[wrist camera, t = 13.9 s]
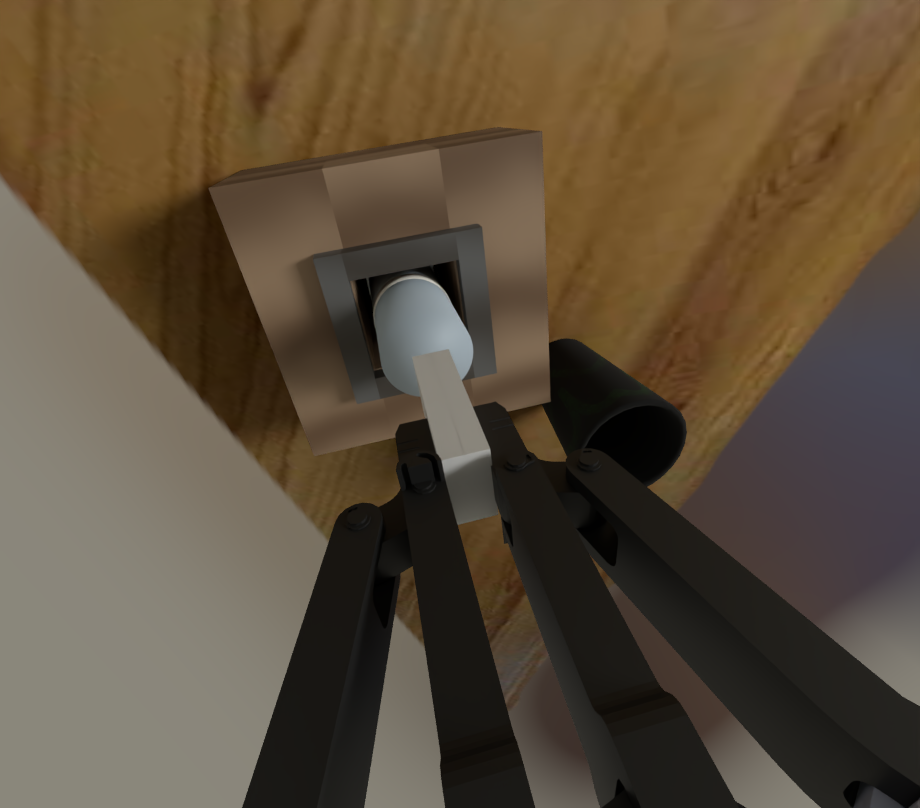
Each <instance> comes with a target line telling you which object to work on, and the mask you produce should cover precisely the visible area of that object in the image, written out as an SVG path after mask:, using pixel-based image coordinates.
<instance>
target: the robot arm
mask: <svg viewBox="0 0 920 808" xmlns="http://www.w3.org/2000/svg"><path fill="white" fill-rule="evenodd" d="M412 360H413V364H414V369H415V374H416V378H417V383H418V388H419V392H420V397H421V402H422V406H423V411H424V415H425V419H421V420H416V421H412V422H408V423H403V424H399V427H398V429H397V431H396V433H395V437H396V444H397V451H398V457H399V462H398V464H397V467H396V472H397V476H398V479H399V483H400V487H401V489H400V491H399V493H398V494H397V495H396V496H395V497H394V498H393V499H392V500H391V501H389V502H387V503H386V504H384V505H382V506H380V507H377V506H375V505H373V504H371V503H360V504H355V505H353V506H351V507H349V508H347V509H345V510H344V511H343V512H342V513H341V514H340V515H339V516H338V518H337V520H336V522H335V524H334V528H333V531H332V534H331V537H330V540H329V543H328V546H327V549H326V552H325V555H324V558H323V561H322V564H321V567H320V571H319V574H318V577H317V580H316V583H315V586H314V589H313V592H312V595H311V598H310V601H309V604H308V608H307V610H306V614H305V617H304V620H303V623H302V626H301V629H300V632H299V635H298V638H297V641H296V644H295V647H294V651H293V653H292V656H291V660H290V663H289V666H288V669H287V673H286V675H285V678H284V681H283V684H282V687H281V690H280V693H279V696H278V700H277V702H276V706H275V709H274V712H273V715H272V718H271V721H270V724H269V727H268V730H267V733H266V736H265V739H264V743H263V746H262V749H261V752H260V755H259V758H258V761H257V764H256V767H255V770H254V773H253V776H252V779H251V782H250V785H249V788H248V792H247V795H246V798H245V801H244V804H243V807H242V808H364V805H365V799H366V792H367V786H368V780H369V773H370V767H371V761H372V754H373V748H374V742H375V735H376V729H377V722H378V715H379V710H380V703H381V697H382V691H383V685H384V678H385V671H386V665H387V659H388V652H389V646H390V640H391V633H392V627H393V621H394V615H395V608H396V602H397V596H398V589H399V583H400V573H401V572H403V571H405V570H407V569H408V568H410V567H412V566H413V570H414V577H415V584H416V590H417V597H418V604H419V611H420V617H421V624H422V631H423V638H424V644H425V651H426V657H427V665H428V671H429V678H430V684H431V692H432V698H433V705H434V711H435V718H436V725H437V732H438V739H439V745H440V754H441V762H440V769H441V780H442V787H443V794H444V802H445V808H535V805H534V801H533V798H532V794H531V790H530V787H529V783H528V779H527V776H526V772H525V768H524V764H523V761H522V758H521V754H520V751H519V748H518V745H517V741H516V739H515V736H514V733H513V730H512V726H511V722H510V719H509V715H508V711H507V707H506V704H505V700H504V696H503V693H502V689H501V685H500V681H499V678H498V674H497V670H496V666H495V663H494V659H493V655H492V652H491V648H490V644H489V640H488V637H487V633H486V629H485V626H484V622H483V618H482V614H481V611H480V607H479V603H478V599H477V596H476V592H475V588H474V585H473V581H472V577H471V573H470V570H469V566H468V562H467V559H466V555H465V551H464V547H463V544H462V540H461V536H460V532H459V529H458V524H462V523H466V522H470V521H474V520H478V519H482V518H486V517H490V516H494V515H498V509H499V512H500V514H501V520H502V528H503V537H504V544H505V543H508V544H509V547H510V550H511V552H512V555H513V558H514V561H515V563H516V566H517V569H518V572H519V574H520V577H521V580H522V583H523V585H524V588H525V591H526V593H527V596H528V599H529V602H530V604H531V607H532V610H533V613H534V615H535V618H536V621H537V624H538V626H539V629H540V632H541V635H542V637H543V640H544V643H545V646H546V648H547V651H548V654H549V656H550V659H551V662H552V665H553V667H554V670H555V673H556V676H557V678H558V681H559V684H560V687H561V689H562V692H563V695H564V697H565V700H566V703H567V706H568V708H569V711H570V714H571V717H572V719H573V722H574V725H575V728H576V730H577V733H578V736H579V739H580V741H581V744H582V747H583V750H584V752H585V755H586V758H587V761H588V764H589V767H590V770H591V775H592V779H593V784H594V788H595V791H596V795H597V799H598V802H599V805H600V808H745V807H744V806H742V805H741V804H739V803H737V802H736V801H735V800H734V798H733V796H732V794H731V792H730V791H729V789H728V787H727V785H726V784H725V782H724V780H723V778H722V776H721V775H720V773H719V771H718V769H717V767H716V765H715V764H714V762H713V760H712V758H711V756H710V755H709V753H708V751H707V749H706V747H705V746H704V744H703V742H702V740H701V738H700V737H699V735H698V733H697V731H696V730H695V728H694V726H693V724H692V722H691V720H690V719H689V717H688V715H687V713H686V712H685V710H684V709H683V707H682V706H681V704H680V703H679V701H678V700H677V699H676V698H675V697H674V696H673V695H672V694H670V693H668V692H665V691H664V690H663V689H662V688H661V687H660V685H659V684H658V682H657V680H656V678H655V676H654V674H653V673H652V671H651V669H650V667H649V665H648V663H647V661H646V660H645V658H644V656H643V654H642V652H641V650H640V648H639V646H638V645H637V643H636V641H635V639H634V637H633V635H632V634H631V632H630V630H629V628H628V626H627V624H626V622H625V620H624V618H623V617H622V615H621V613H620V611H619V609H618V608H617V605H616V604H615V602H614V600H613V598H612V596H611V594H610V592H609V591H608V589H607V587H606V585H605V583H604V581H603V579H602V577H601V576H600V574H599V572H598V570H597V568H596V566H595V564H594V563H593V561H592V559H591V557H592V558H593V559H594V560H595V561H596V562H597V563H598V564H599V566H600V567H601V568H602V569H603V570H604V571H605V572H606V573H607V575H608V576H609V577H610V578H611V579H612V580H613V581H614V582H615V583H616V585H617V586H618V587H619V588H620V589H621V590H622V591H623V592H624V594H625V595H626V596H627V597H628V598H629V599H630V600H631V601H632V602H633V603H634V605H635V606H636V607H637V608H638V609H639V610H640V611H641V613H642V614H643V615H644V616H645V617H646V618H647V619H648V620H649V621H650V622H651V624H652V625H653V626H654V627H655V628H656V629H657V630H658V631H659V633H660V634H661V635H662V636H663V637H664V638H665V639H666V640H667V642H668V643H669V644H670V645H671V646H672V647H673V648H674V649H675V650H676V652H677V653H678V654H679V655H680V656H681V657H682V658H683V659H684V661H685V662H687V664H688V665H689V666H690V667H691V668H692V669H693V671H695V673H696V674H697V675H698V676H699V677H700V678H701V680H702V681H703V682H704V683H705V684H706V685H707V686H708V687H709V688H710V690H711V691H712V692H713V693H714V694H715V695H716V696H717V697H718V699H720V701H721V702H722V703H723V704H724V705H725V706H726V707H727V709H728V710H729V711H730V712H731V713H732V714H733V715H734V716H735V717H736V718H737V720H738V721H739V722H740V723H741V724H742V725H743V726H744V728H745V729H746V730H747V731H748V732H749V733H750V734H751V735H752V736H753V737H754V739H755V740H756V741H757V742H758V743H759V744H760V745H761V746H762V748H763V749H764V750H765V751H766V752H767V753H768V754H769V755H770V757H771V758H772V759H773V760H774V761H775V762H776V763H777V764H778V766H779V767H780V768H781V769H782V770H783V771H784V772H785V773H786V774H787V775H788V776H789V777H790V778H791V779H792V780H793V781H794V782H795V783H796V784H797V785H798V786H799V787H800V788H801V789H802V790H803V792H805V794H807V795H808V796H809V797H810V798H811V799H812V800H813V801H814V802H815V803H816V804H818V805H819V806H820V807H821V808H920V706H918V705H916V704H915V703H913V702H911V701H909V700H907V699H906V698H904V697H902V696H901V695H900V694H899V693H897V692H896V691H895V690H894V689H893V688H891V687H890V686H889V685H887V684H886V683H885V682H884V681H883V680H882V679H880V678H879V677H878V676H877V675H875V674H874V673H873V672H872V671H871V670H869V669H868V668H867V667H866V666H864V665H863V664H862V663H861V662H860V661H858V660H857V659H856V658H855V657H853V656H852V655H851V654H850V653H849V652H847V651H846V650H845V649H844V648H843V647H841V646H840V645H839V644H838V643H836V642H835V641H834V640H833V639H832V638H830V637H829V636H828V635H826V634H825V633H824V632H823V631H822V630H821V629H819V628H818V627H817V626H816V625H814V624H813V623H812V622H811V621H810V620H808V619H807V618H806V617H805V616H803V615H802V614H801V613H800V612H798V611H797V610H796V609H795V608H794V607H792V606H791V605H790V604H789V603H788V602H786V601H785V600H784V599H783V598H782V597H780V596H779V595H778V594H777V593H775V592H774V591H773V590H772V589H771V588H769V587H768V586H767V585H766V584H764V583H763V582H762V581H761V580H759V579H758V578H757V577H756V576H755V575H753V574H752V573H751V572H749V571H748V570H747V569H746V568H745V567H744V566H742V565H741V564H740V563H739V562H738V561H736V560H735V559H734V558H733V557H731V556H730V555H729V554H728V553H727V552H725V551H724V550H723V549H722V548H720V547H719V546H718V545H717V544H715V543H714V542H713V541H712V540H711V539H709V538H708V537H707V536H706V535H705V534H703V533H702V532H701V531H700V530H698V529H697V528H696V527H695V526H694V525H692V524H691V523H690V522H689V521H688V520H686V519H685V518H684V517H683V516H681V515H680V514H679V513H678V512H677V511H675V510H674V509H673V508H672V507H670V506H669V505H668V504H667V503H666V502H664V501H663V500H662V499H661V498H659V497H658V496H657V495H656V494H655V493H653V492H652V491H651V490H650V489H648V488H647V487H646V486H645V485H644V484H642V483H641V482H640V481H639V480H638V479H636V478H635V477H634V476H633V475H631V474H630V473H629V472H628V471H627V470H625V469H624V468H623V467H622V466H620V465H619V464H618V463H617V462H616V461H614V460H613V459H612V458H611V457H609V456H608V455H607V454H605V453H604V452H602V451H600V450H596V449H592V448H582V449H579V450H575V451H573V452H572V453H570V454H569V455H568V457H567V459H566V462H550V461H543V460H540V459H538V458H537V457H536V456H535V455H534V454H533V453H531V452H529V451H528V450H527V449H526V447H525V445H524V443H523V441H522V439H521V437H520V435H519V433H518V432H517V430H516V428H515V426H514V425H513V422H512V420H511V418H510V416H509V414H508V412H507V411H506V409H505V408H504V407H503V406H501V405H500V404H498V403H497V402H491V403H487V404H483V405H478V406H474V407H473V406H472V404H471V402H470V399H469V397H468V394H467V392H466V390H465V387H464V385H463V382H462V380H461V378H460V375H459V373H458V371H457V368H456V366H455V363H454V361H453V359H452V356H451V354H450V351H449V349H447V350H442V351H437V352H433V353H428V354H423V355H419V356H414V357H412ZM497 506H498V509H497ZM589 554H590V555H589ZM590 556H591V557H590Z"/></svg>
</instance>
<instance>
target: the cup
mask: <svg viewBox="0 0 920 808" xmlns="http://www.w3.org/2000/svg"><path fill="white" fill-rule="evenodd" d="M549 367H550V399H551V402H548V403H543V404H542V406H543V408H544V410H545V412H546V414H547V416H548V418H549V420H550V422H551V424H552V426H553V428H554V430H555V433H556V435H557V437H558V439H559V441H560V443H561V445H562V447H563V449H564V451H565V453H566V455H567V457H568V455H569V454H570V453H572V452H573V451H575V450H579V449H582V448H592V449H596V450H600V451H602V452H604V453H605V454H607V455H608V456H609V457H611V458H612V459H613V460H614V461H616V462H617V463H618V464H619V465H620V466H622V467H623V468H624V469H625V470H627V471H628V472H629V473H630V474H631V475H633V476H634V477H635V478H636V479H638V480H639V481H640V482H641V483H642V484H644V485H645V486H646V487H647V486H649V485H651V484H653V483H654V482H656V481H657V480H658V479H660V478H661V477H662V476H663V475H664V474H665V473H666V472H667V471H668V470H669V469H670V468H671V467H672V466H673V465H674V463H675V462H676V460H677V459H678V457H679V456H680V454H681V451H682V449H683V447H684V444H685V439H686V433H687V431H686V422H685V420H684V418H683V416H682V414H681V412H680V411H679V410H678V409H676V408H675V407H674V406H673V405H672V404H670V403H669V402H667V401H666V400H664V399H663V398H662V397H660V396H659V395H657V394H656V393H654V392H653V391H651V390H650V389H648V388H647V387H645V386H644V385H643V384H641V383H640V382H638V381H637V380H635V379H634V378H632V377H631V376H629V375H628V374H626V373H625V372H624V371H622V370H621V369H619V368H618V367H616V366H615V365H613V364H612V363H610V362H609V361H607V360H606V359H605V358H603V357H602V356H600V355H599V354H597V353H596V352H594V351H593V350H591V349H590V348H588V347H587V346H586V345H584V344H583V343H581V342H579V341H577V340H574V339H560V340H557V341H554V342H552V343H550V344H549Z"/></svg>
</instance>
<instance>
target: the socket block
mask: <svg viewBox="0 0 920 808" xmlns="http://www.w3.org/2000/svg"><path fill="white" fill-rule="evenodd" d="M208 189H209V191H210V194H211V196H212V199H213V201H214V204H215V206H216V209H217V211H218V214H219V216H220V219H221V221H222V224H223V227H224V229H225V232H226V234H227V237H228V239H229V242H230V244H231V247H232V249H233V252H234V254H235V257H236V259H237V262H238V264H239V267H240V270H241V272H242V275H243V277H244V280H245V282H246V285H247V287H248V290H249V292H250V295H251V297H252V300H253V302H254V305H255V307H256V310H257V313H258V315H259V318H260V320H261V323H262V325H263V328H264V330H265V333H266V335H267V338H268V340H269V343H270V345H271V348H272V350H273V353H274V355H275V358H276V361H277V363H278V366H279V368H280V371H281V373H282V376H283V378H284V381H285V383H286V386H287V388H288V391H289V393H290V396H291V398H292V401H293V404H294V406H295V409H296V411H297V414H298V416H299V419H300V421H301V424H302V426H303V429H304V431H305V434H306V436H307V439H308V441H309V444H310V447H311V449H312V452H313V454H314V456H317V455H322V454H326V453H330V452H335V451H339V450H343V449H348V448H352V447H356V446H361V445H365V444H369V443H374V442H378V441H382V440H387V439H391V438H395V433H396V431H397V429H398V427H399V424H403V423H408V422H412V421H416V420H421V419H425V415H424V411H423V406H422V402H421V397H418V396H413V395H409V394H406V393H404V392H402V391H400V390H399V389H397V388H396V387H395V386H393V385H392V384H391V383H390V382H389V380H388V379H387V377H386V376H385V374H384V372H383V369H382V366H381V360H380V353H379V346H378V340H377V333H376V329H375V325H374V319H370V318H369V314H368V310H367V306H366V302H365V298H364V294H363V290H362V286H361V283H360V279H363V278H368V277H374V276H379V275H384V274H389V273H394V272H399V271H404V270H409V269H415V268H420V267H425V266H430V265H435V264H438V270H439V276H440V283H441V286H442V287H443V289H444V290H445V291H446V293H447V295H448V297H449V298H450V300H451V303H452V305H453V307H454V309H455V310H456V312H457V314H458V316H459V317H460V319H461V321H462V323H463V324H464V326H465V328H466V330H467V331H468V333H469V335H470V337H471V340H472V344H473V359H472V363H471V366H470V369H469V371H468V372H467V374H466V375H465V377H464V378H463V379H462V382H463V385H464V387H465V390H466V392H467V394H468V397H469V399H470V402H471V404H472V406H473V407H474V406H478V405H483V404H487V403H491V402H497V403H498V404H500V405H501V406H503V407H504V408H505V409H506V411H507V412H508V411H513V410H517V409H521V408H526V407H530V406H534V405H539V404H543V403H548V402H551V399H550V367H549V335H548V304H547V272H546V240H545V208H544V177H543V145H542V131H534V130H523V129H512V128H501V127H497V128H491V129H485V130H479V131H473V132H467V133H461V134H455V135H449V136H443V137H437V138H431V139H425V140H419V141H413V142H407V143H401V144H396V145H390V146H384V147H378V148H372V149H366V150H360V151H354V152H348V153H342V154H336V155H330V156H324V157H318V158H312V159H306V160H300V161H294V162H288V163H283V164H277V165H271V166H265V167H259V168H253V169H247V170H241V171H239V172H238V173H236V174H234V175H232V176H230V177H228V178H226V179H225V180H223V181H221V182H219V183H217V184H215V185H213V186H212V187H210V188H208Z"/></svg>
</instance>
